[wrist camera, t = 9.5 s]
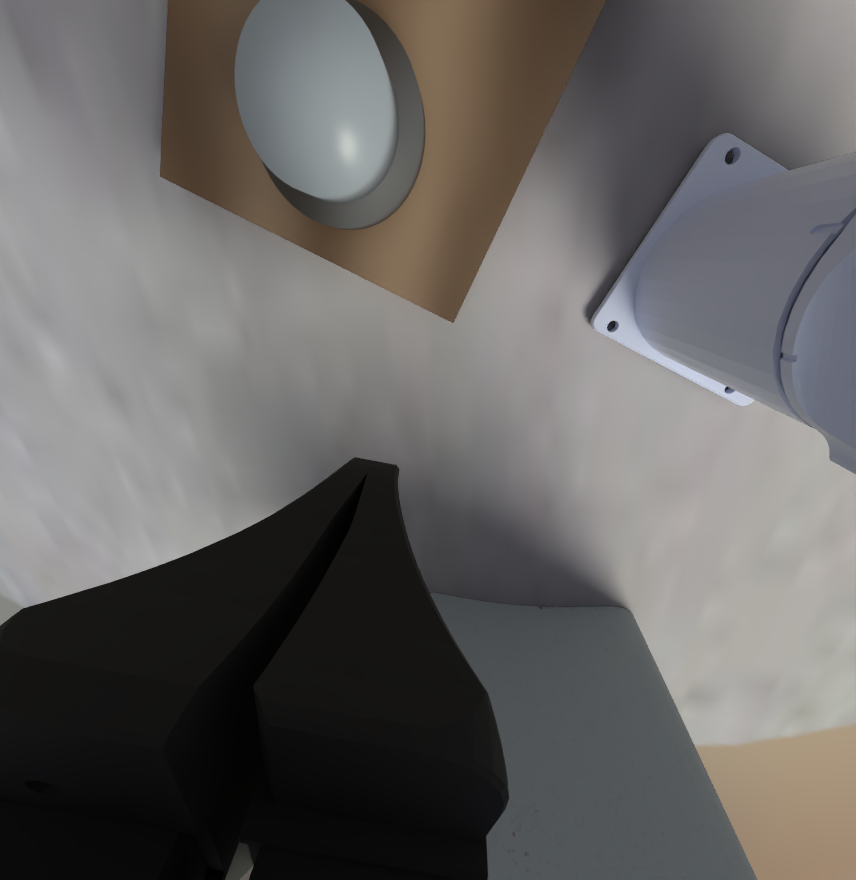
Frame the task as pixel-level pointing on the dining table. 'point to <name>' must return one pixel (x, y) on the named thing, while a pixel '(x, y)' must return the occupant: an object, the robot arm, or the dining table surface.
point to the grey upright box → (590, 750)
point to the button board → (419, 143)
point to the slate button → (316, 97)
